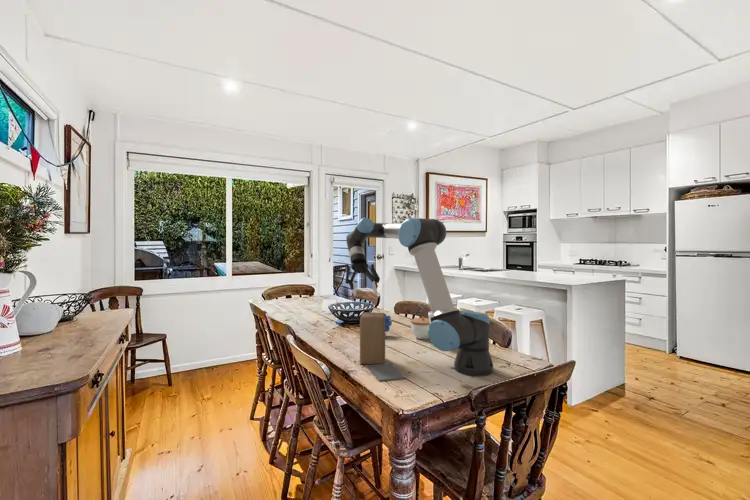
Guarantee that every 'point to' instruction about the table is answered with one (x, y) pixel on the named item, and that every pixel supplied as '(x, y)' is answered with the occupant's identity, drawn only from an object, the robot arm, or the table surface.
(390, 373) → the rubber mat
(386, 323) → the grapes
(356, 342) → the table surface
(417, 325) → the lidded bowl
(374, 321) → the wooden block
